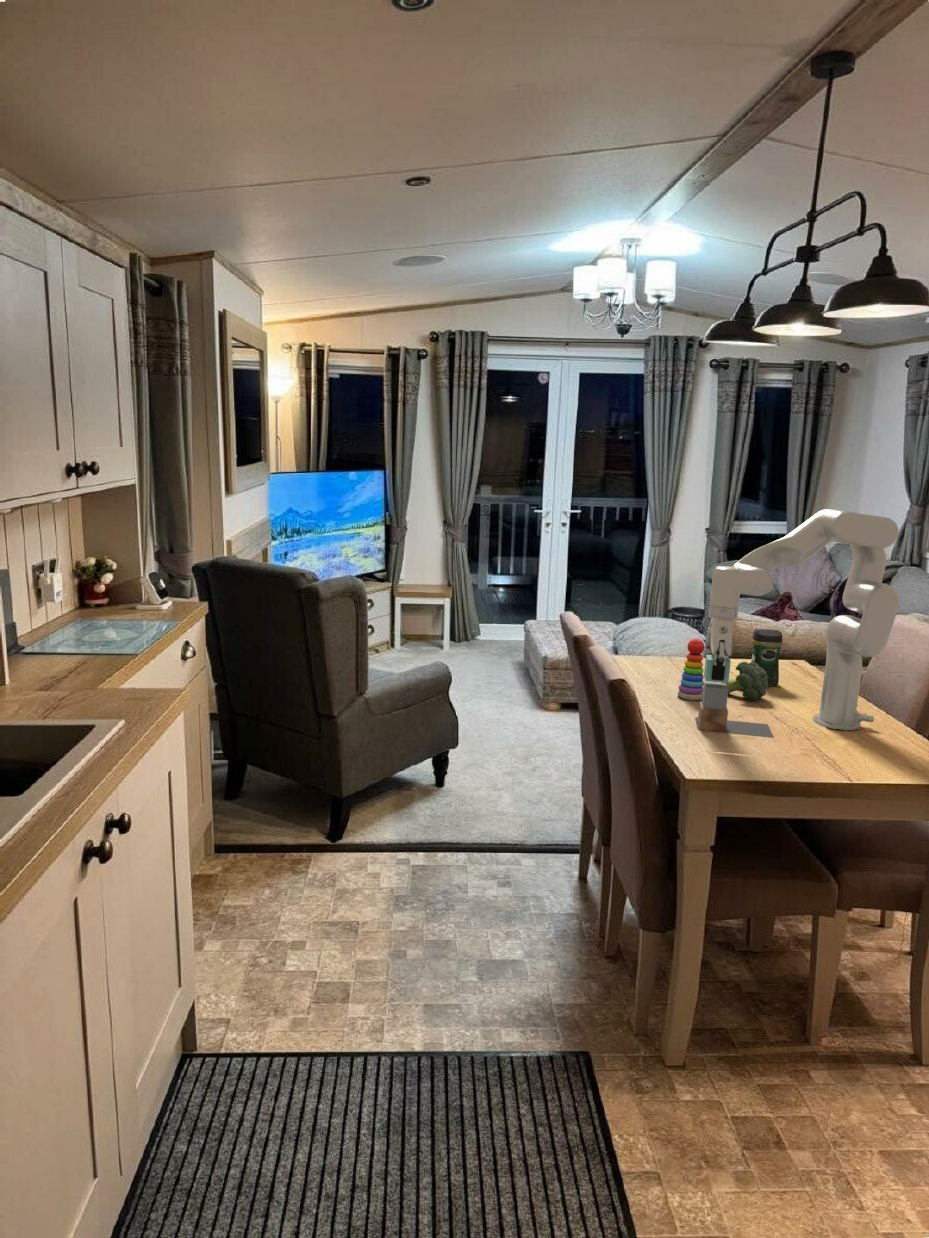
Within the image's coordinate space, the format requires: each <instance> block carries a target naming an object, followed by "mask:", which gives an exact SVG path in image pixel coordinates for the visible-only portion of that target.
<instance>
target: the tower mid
mask: <svg viewBox="0 0 929 1238" xmlns="http://www.w3.org/2000/svg"><path fill="white" fill-rule="evenodd" d="M703 682H704V685H703V686H702V687H703V692H702V693H703V695H702V699H701V702H702V705H703V708H704V709H715V710H726V707H727V706H728V705H727V704H728V696H729V694H728V687H727V685H726V684H725V683H721V682H711V681H703Z"/></svg>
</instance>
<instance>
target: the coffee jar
mask: <svg viewBox="0 0 929 1238" xmlns="http://www.w3.org/2000/svg"><path fill="white" fill-rule="evenodd" d="M751 644H752V656H751V659H750V660H751V661H750V663H757V664H758V665H759V666H760V667H762V668H763V669H764V670H765V672H766V673H767V679H768V686H767V687H772V686H773V687H776V686H778V685H779V682H780V681H779V679H780V671H779V667H780V665H779V663H780V661H779V659H780V658H779V657H780V651H781V647H783V632H782V631H780V630H778V629H769V628H764V629H763V628H762V629H761V628H758V629H757V628H756V629H754V630H753V633H752V637H751Z"/></svg>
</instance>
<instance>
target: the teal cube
mask: <svg viewBox="0 0 929 1238" xmlns="http://www.w3.org/2000/svg"><path fill="white" fill-rule="evenodd" d="M717 658H718V657H717ZM704 662H705V663H704V668H703V676H704V678H703V679H704V680H705V681H704V682H714V683H721V682H722V683H728V682H729V681H730V679H729V678H730V671H731V662H732V661H731V659H730V656H728V655H726V656H725V673H724V680H723V681H720V680H712V678H711V677H712V667H713V665H714V655H712V654H705V661H704Z"/></svg>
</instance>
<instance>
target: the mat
mask: <svg viewBox="0 0 929 1238" xmlns="http://www.w3.org/2000/svg"><path fill="white" fill-rule="evenodd" d="M694 718H695V719H694V720H695V724H696V729H697V731H700V732H702V731H703V732H708V731H707V730H699V725H698V717H696V716H695V717H694ZM709 732H711V733H718V732H717V731H709ZM719 733H721V734H732V735H740V736H741V735H743V736H752V737H762V738H771V739H772V738H774V739H775V736H774V733H772V731H771V729H770V726H769V724H768V723H758V722H750V721H749V722H747V721H740V720H739V721H737V720H728V719H727V727H726V732H719Z"/></svg>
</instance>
